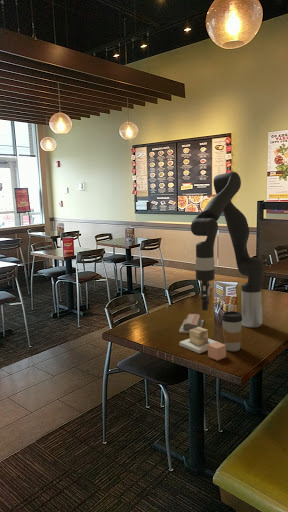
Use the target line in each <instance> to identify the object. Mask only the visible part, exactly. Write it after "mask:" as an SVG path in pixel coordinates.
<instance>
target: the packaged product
mask: <svg viewBox="0 0 288 512" xmlns="http://www.w3.org/2000/svg"><path fill="white" fill-rule="evenodd" d="M204 323H205V320H204V319H202V320H201V315H200V314H198V313H188V314H187V316H186V318H184V319H183V321H182V324H181V326H180V327H179V329H178V332H179V334H190V333H189V330H190V329H193V328H196V327H201V328H203V326H204Z"/></svg>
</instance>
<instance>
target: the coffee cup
mask: <svg viewBox="0 0 288 512" xmlns="http://www.w3.org/2000/svg"><path fill="white" fill-rule="evenodd" d="M221 321H222V334H223V335H222V336H223V342H224V343H223V344H224V345H226V351H229V352H238V351H240V349H241V343H242V331H243V329H242V328H243V325H242V312H238V311H234V310H233V311H224V312H223V313H222V316H221Z"/></svg>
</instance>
